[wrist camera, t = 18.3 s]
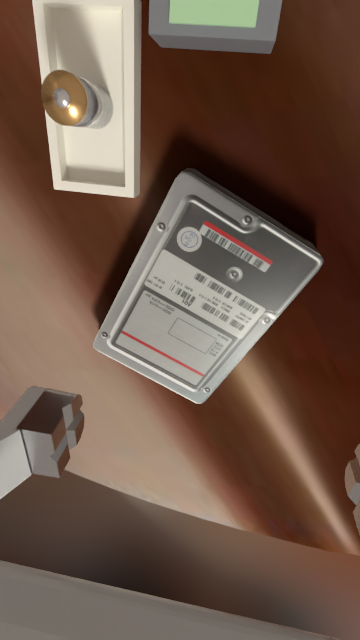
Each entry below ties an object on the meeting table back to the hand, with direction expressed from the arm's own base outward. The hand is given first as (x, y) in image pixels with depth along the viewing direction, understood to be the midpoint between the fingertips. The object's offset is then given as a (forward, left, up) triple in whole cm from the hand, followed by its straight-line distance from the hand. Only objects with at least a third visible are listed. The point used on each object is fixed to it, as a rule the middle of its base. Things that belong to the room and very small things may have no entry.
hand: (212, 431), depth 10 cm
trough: (+16, -9, -33) cm, 38 cm away
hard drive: (+3, +12, -34) cm, 36 cm away
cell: (+16, -9, -32) cm, 37 cm away
